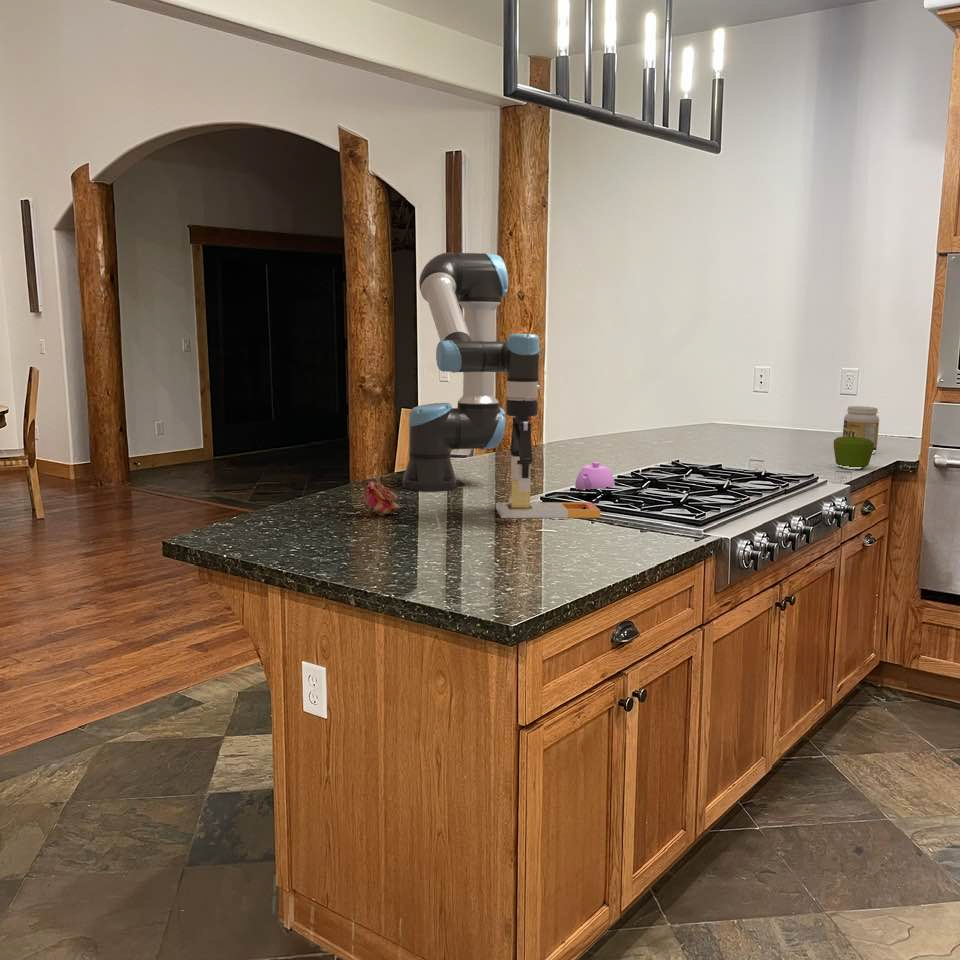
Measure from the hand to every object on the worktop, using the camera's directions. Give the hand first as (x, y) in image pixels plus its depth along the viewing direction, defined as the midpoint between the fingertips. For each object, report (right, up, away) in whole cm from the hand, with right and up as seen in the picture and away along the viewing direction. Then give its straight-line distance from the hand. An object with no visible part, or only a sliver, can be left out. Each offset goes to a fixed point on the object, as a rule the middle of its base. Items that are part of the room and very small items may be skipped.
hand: (520, 487), depth 236 cm
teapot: (+21, -3, +29) cm, 36 cm away
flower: (-33, -7, 0) cm, 34 cm away
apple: (+114, +5, +88) cm, 144 cm away
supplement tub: (+131, +12, +126) cm, 183 cm away
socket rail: (+7, -7, +2) cm, 10 cm away
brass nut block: (0, -7, +1) cm, 7 cm away
